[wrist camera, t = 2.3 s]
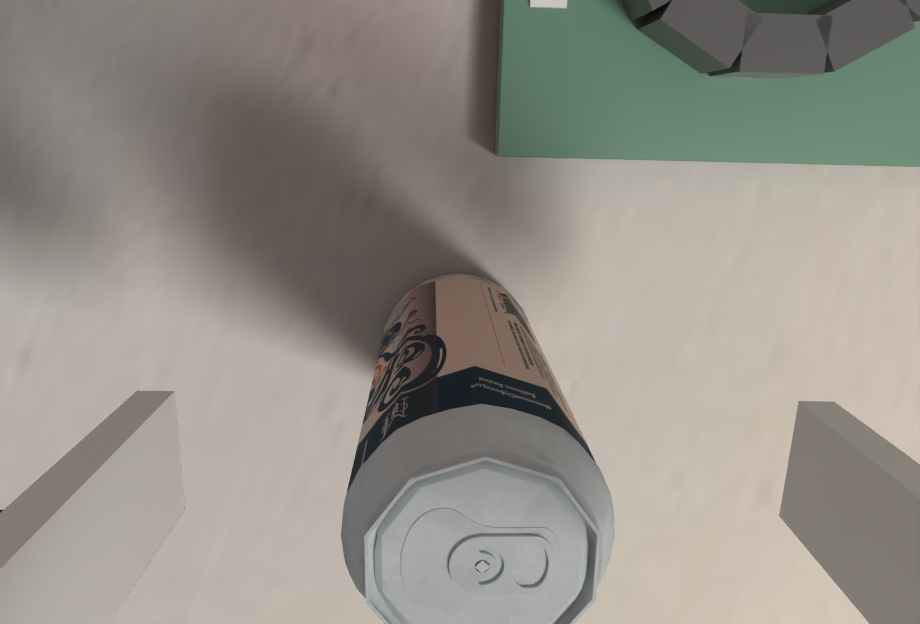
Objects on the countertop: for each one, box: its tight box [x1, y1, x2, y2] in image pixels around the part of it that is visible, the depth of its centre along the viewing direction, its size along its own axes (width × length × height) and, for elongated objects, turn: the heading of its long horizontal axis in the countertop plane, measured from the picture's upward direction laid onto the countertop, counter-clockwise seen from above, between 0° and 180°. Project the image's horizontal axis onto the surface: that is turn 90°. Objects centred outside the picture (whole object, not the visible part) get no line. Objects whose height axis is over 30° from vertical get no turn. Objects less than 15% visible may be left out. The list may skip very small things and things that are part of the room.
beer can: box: [341, 274, 614, 624], centre depth 17 cm, size 5×5×12 cm
